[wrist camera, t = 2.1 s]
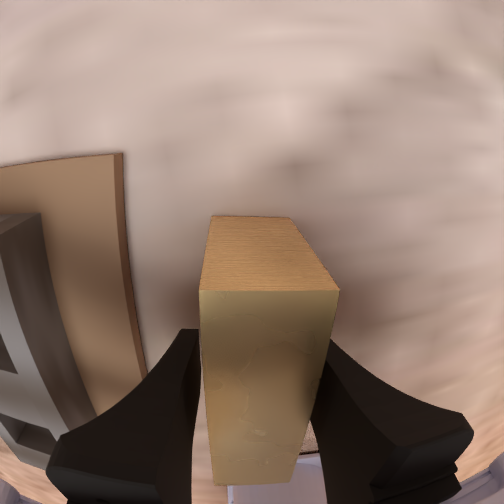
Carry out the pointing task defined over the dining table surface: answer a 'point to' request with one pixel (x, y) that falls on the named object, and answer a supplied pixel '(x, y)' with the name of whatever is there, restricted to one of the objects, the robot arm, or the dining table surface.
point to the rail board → (63, 300)
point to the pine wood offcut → (261, 345)
